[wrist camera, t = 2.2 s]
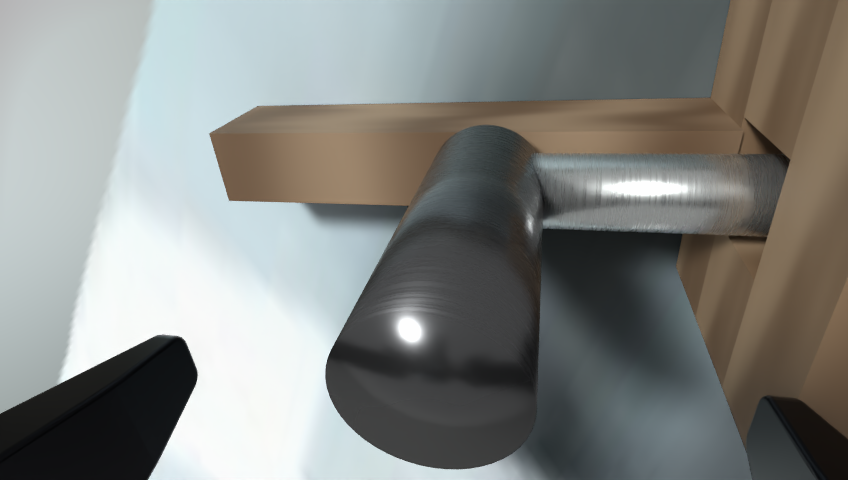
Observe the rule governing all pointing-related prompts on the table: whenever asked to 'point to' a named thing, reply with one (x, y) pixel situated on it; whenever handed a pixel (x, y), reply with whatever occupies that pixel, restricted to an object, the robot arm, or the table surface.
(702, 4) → the table surface
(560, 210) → the door handle
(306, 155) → the wooden mallet
